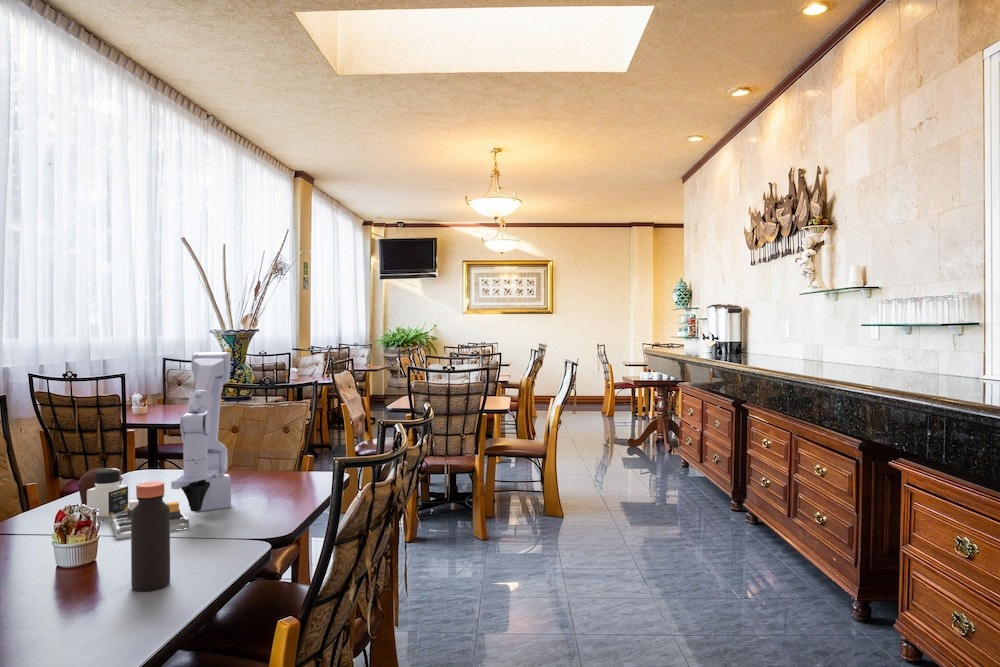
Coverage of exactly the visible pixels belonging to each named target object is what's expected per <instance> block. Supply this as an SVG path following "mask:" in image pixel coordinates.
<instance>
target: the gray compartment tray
mask: <svg viewBox="0 0 1000 667" xmlns="http://www.w3.org/2000/svg"><path fill="white" fill-rule="evenodd" d="M179 510H180V515H181V518H177V519H170V532H172V531H171V530H176V529H183V530H185V529H184V528H189V529H190V519H189V517H188V516H187V515H186V513H185V512H184V511H183V509H182V508H181V507H180V506H179ZM110 524H111V526H112V528H113V529H112V530H113V532H115V533H114V535H115V538H116V540H123V538H124V539H131V538H130V537H131V517H128V518H127V512H126V513H119V514H117V515H115V513H114V514H111V517H110ZM176 531H177V530H176Z"/></svg>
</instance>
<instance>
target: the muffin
mask: <svg viewBox="0 0 1000 667" xmlns="http://www.w3.org/2000/svg"><path fill="white" fill-rule="evenodd" d="M109 468H110V467H109ZM109 468H108V467H98V468H97V467H96V468H93V469H90V470H87V471H86V472H85V473H84V474H83V475H81V477H80V478H79V479H78V481H77V482H76V484H77V486H78V491H79V496H80V503H81V505H82V504H85V505H87V490H88V489H92V488H95V487H96V486H95V473H96V472H97V471H99V470H101V469H109ZM123 480H124V479H123V477H122V476H121V475H120V484H119V485H122V481H123Z"/></svg>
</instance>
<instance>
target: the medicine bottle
mask: <svg viewBox="0 0 1000 667" xmlns="http://www.w3.org/2000/svg"><path fill="white" fill-rule="evenodd" d="M120 476H121V470H120V469H118V468H110V467H109V469H101V470H99V471H97V472H96V473H95V486H96V487H95V488H92V489H88V490H87V506H88V507H90V508H98V509H99V515H98V516H97V517H99V518H100V517H101V518H111V514H114V513H115V515H116V514H117V515H118V514H123V513H124V511H125V512H127V508H129V485H127V484H121V485H119V484H120Z"/></svg>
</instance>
